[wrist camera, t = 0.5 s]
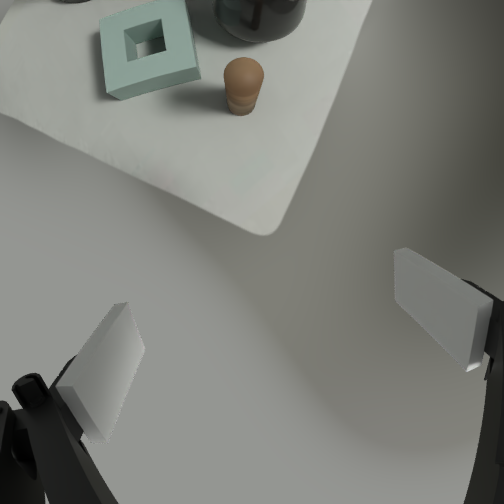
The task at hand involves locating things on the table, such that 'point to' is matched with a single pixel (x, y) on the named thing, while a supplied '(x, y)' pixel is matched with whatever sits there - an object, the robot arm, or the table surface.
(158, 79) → the socket block
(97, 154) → the table surface
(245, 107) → the peg
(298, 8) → the pump dispenser
